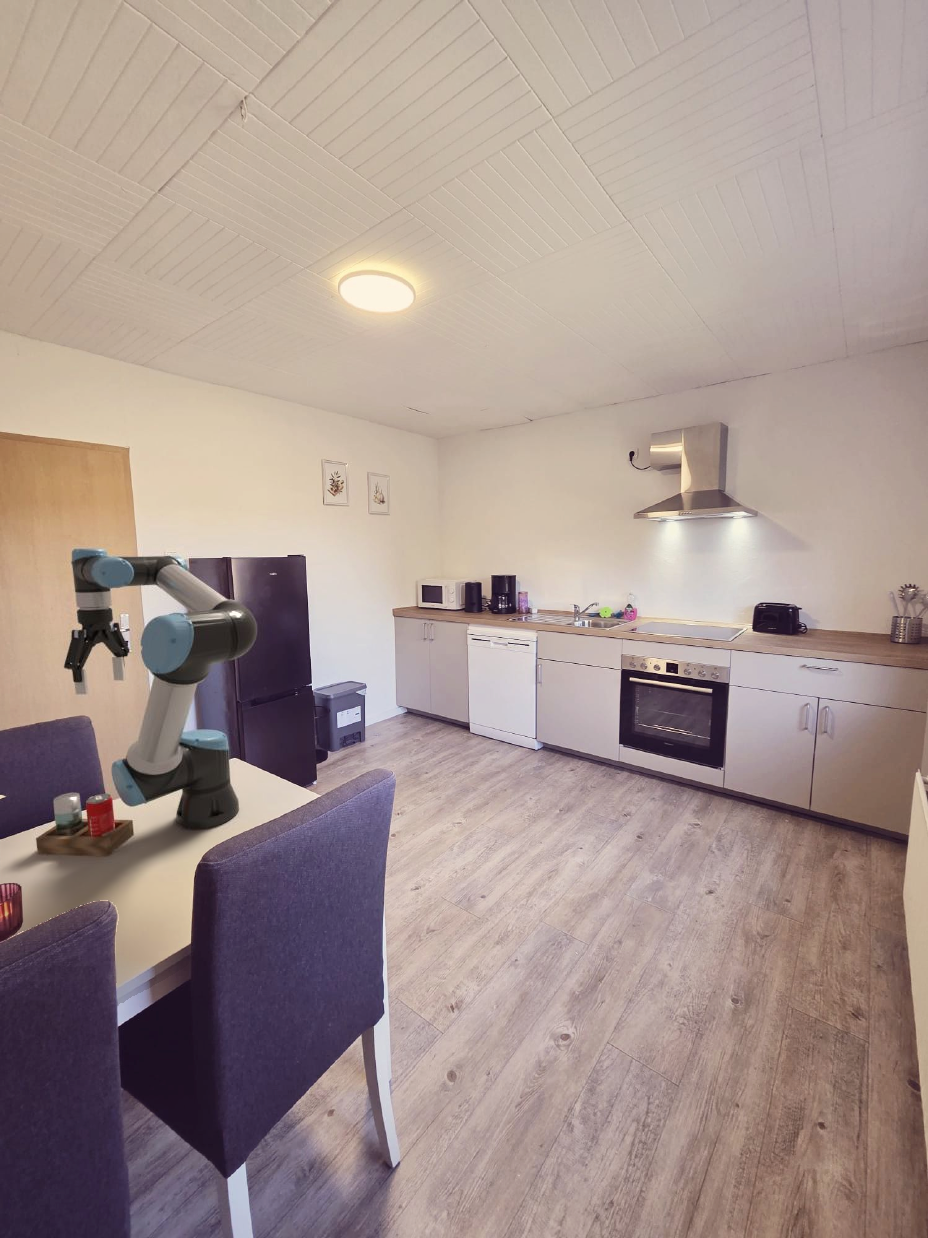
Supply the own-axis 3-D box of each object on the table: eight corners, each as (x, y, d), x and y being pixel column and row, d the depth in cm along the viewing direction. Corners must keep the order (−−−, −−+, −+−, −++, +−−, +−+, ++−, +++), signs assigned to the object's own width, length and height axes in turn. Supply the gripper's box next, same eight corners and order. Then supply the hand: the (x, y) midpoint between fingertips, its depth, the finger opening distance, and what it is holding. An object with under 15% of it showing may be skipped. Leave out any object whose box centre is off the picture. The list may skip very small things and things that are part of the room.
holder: (133, 835, 128) (132, 820, 128) (107, 856, 120) (106, 840, 119) (68, 833, 129) (67, 818, 129) (37, 854, 120) (35, 838, 120)
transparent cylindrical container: (89, 838, 127) (85, 792, 125) (73, 850, 122) (68, 802, 120) (69, 837, 127) (64, 792, 125) (52, 849, 122) (47, 802, 120)
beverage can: (92, 853, 121) (87, 806, 119) (88, 844, 124) (83, 798, 123) (118, 845, 124) (114, 798, 123) (113, 836, 128) (109, 791, 126)
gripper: (114, 602, 146) (120, 674, 149) (39, 613, 121) (49, 700, 124) (140, 602, 146) (145, 675, 149) (70, 614, 121) (79, 700, 124)
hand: (101, 686), depth 136 cm, fingers open, 13 cm apart
